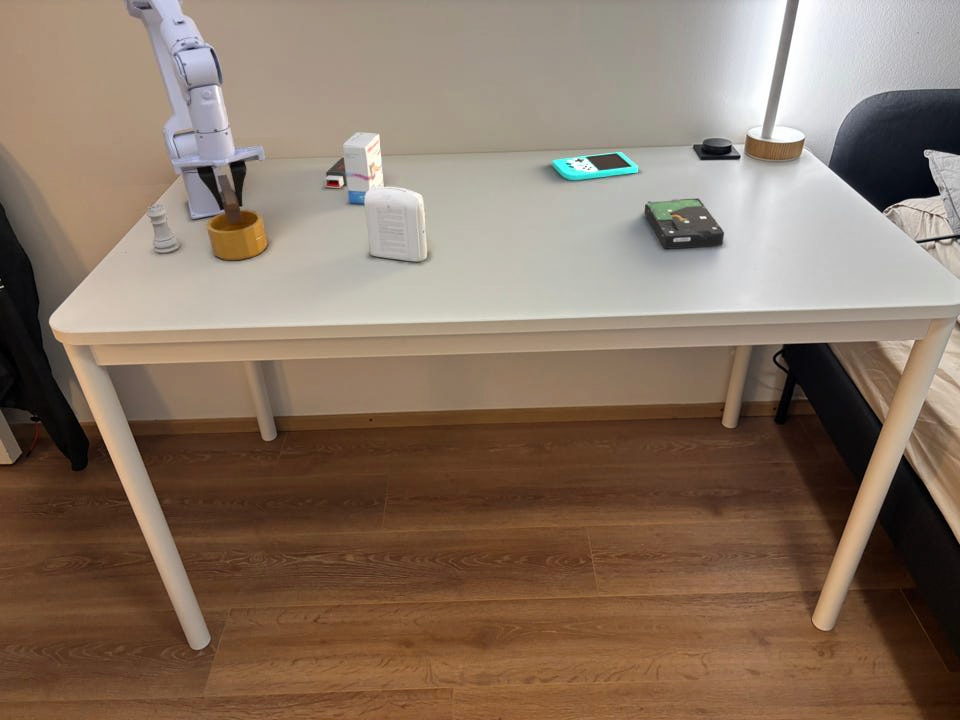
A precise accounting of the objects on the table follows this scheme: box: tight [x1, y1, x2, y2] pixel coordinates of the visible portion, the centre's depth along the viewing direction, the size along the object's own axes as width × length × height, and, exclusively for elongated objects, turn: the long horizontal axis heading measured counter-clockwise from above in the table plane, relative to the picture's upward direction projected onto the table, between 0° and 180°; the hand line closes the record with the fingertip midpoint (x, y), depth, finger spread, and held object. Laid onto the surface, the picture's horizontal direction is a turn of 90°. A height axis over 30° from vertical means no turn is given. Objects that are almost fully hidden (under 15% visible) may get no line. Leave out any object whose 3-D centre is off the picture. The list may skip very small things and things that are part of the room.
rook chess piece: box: [146, 204, 181, 255], centre depth 131 cm, size 4×4×8 cm
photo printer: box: [363, 186, 428, 263], centre depth 125 cm, size 10×4×12 cm, turn 72°
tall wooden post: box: [217, 174, 243, 224], centre depth 127 cm, size 14×2×5 cm, turn 23°
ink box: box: [342, 131, 385, 205], centre depth 147 cm, size 9×5×12 cm, turn 168°
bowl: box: [205, 209, 269, 261], centre depth 131 cm, size 9×9×6 cm
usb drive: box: [324, 157, 347, 189], centre depth 158 cm, size 5×12×3 cm, turn 167°
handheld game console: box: [551, 151, 639, 181], centre depth 158 cm, size 10×16×1 cm, turn 104°
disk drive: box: [644, 198, 725, 249], centre depth 132 cm, size 10×3×15 cm
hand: (230, 206), depth 128 cm, fingers closed on tall wooden post, 2 cm apart
